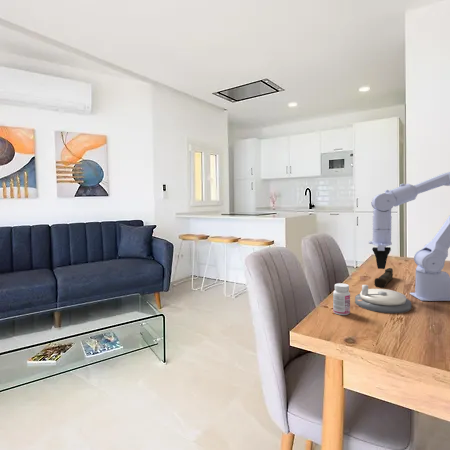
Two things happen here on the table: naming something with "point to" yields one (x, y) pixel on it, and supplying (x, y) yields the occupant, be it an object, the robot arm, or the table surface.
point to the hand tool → (384, 278)
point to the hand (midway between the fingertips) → (381, 268)
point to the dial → (382, 296)
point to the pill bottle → (341, 299)
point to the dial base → (383, 306)
